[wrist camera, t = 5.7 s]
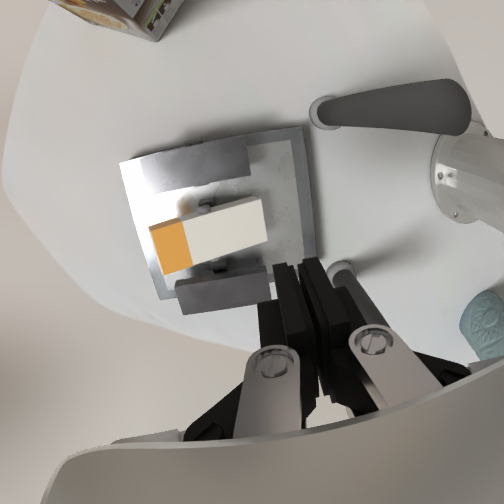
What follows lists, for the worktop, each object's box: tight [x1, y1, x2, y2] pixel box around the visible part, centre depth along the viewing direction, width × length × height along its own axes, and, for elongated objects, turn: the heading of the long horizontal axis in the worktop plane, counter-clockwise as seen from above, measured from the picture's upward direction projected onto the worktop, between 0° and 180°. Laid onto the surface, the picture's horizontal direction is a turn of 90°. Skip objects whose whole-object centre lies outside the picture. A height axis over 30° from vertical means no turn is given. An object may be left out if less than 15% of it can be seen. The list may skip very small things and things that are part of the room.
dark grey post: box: [309, 79, 471, 136], centre depth 17 cm, size 3×3×18 cm
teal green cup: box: [459, 291, 504, 361], centre depth 31 cm, size 10×10×12 cm
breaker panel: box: [120, 127, 317, 315], centre depth 26 cm, size 16×15×6 cm
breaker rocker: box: [148, 196, 268, 276], centre depth 23 cm, size 9×4×2 cm, turn 100°
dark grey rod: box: [326, 261, 390, 328], centre depth 24 cm, size 3×3×18 cm
